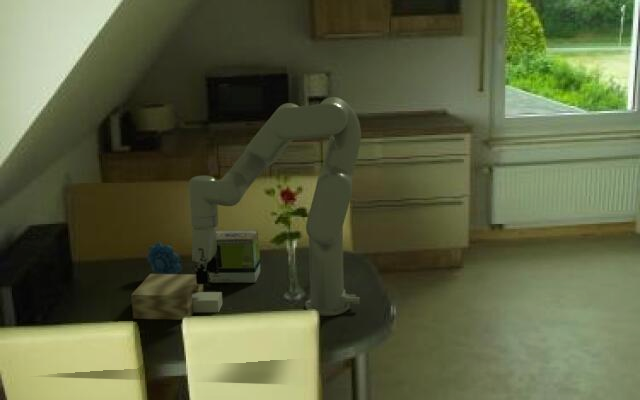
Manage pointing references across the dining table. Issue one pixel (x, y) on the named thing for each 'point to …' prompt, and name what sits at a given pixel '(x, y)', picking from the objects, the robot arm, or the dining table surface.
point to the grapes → (163, 259)
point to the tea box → (237, 256)
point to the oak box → (165, 296)
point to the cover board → (206, 301)
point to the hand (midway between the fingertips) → (206, 277)
